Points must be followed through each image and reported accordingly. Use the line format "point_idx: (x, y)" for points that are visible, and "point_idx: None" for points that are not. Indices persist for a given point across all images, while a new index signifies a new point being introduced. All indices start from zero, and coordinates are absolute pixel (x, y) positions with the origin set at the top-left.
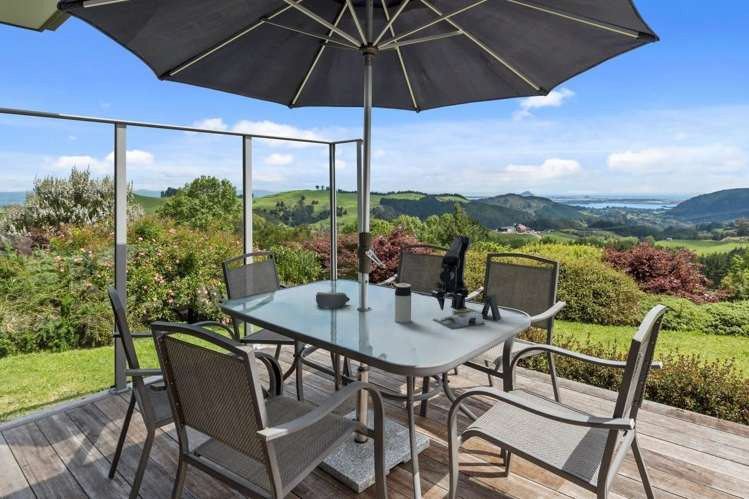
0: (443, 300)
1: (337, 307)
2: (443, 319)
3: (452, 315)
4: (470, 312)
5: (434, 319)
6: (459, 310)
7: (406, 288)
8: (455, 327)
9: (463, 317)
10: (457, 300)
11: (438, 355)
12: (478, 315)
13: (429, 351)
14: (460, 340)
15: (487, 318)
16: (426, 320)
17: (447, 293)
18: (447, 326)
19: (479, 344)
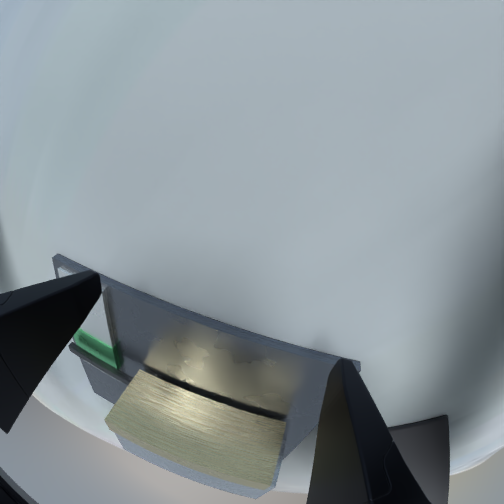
0: (10, 401)
1: None
2: (75, 352)
3: (123, 398)
4: None
5: (57, 273)
6: (160, 454)
7: None
8: (111, 402)
9: (134, 454)
10: (339, 476)
11: (40, 394)
12: (227, 491)
13: None
14: (91, 419)
15: None
16: (33, 229)
17: (10, 500)
18: (87, 373)
19: (123, 448)
